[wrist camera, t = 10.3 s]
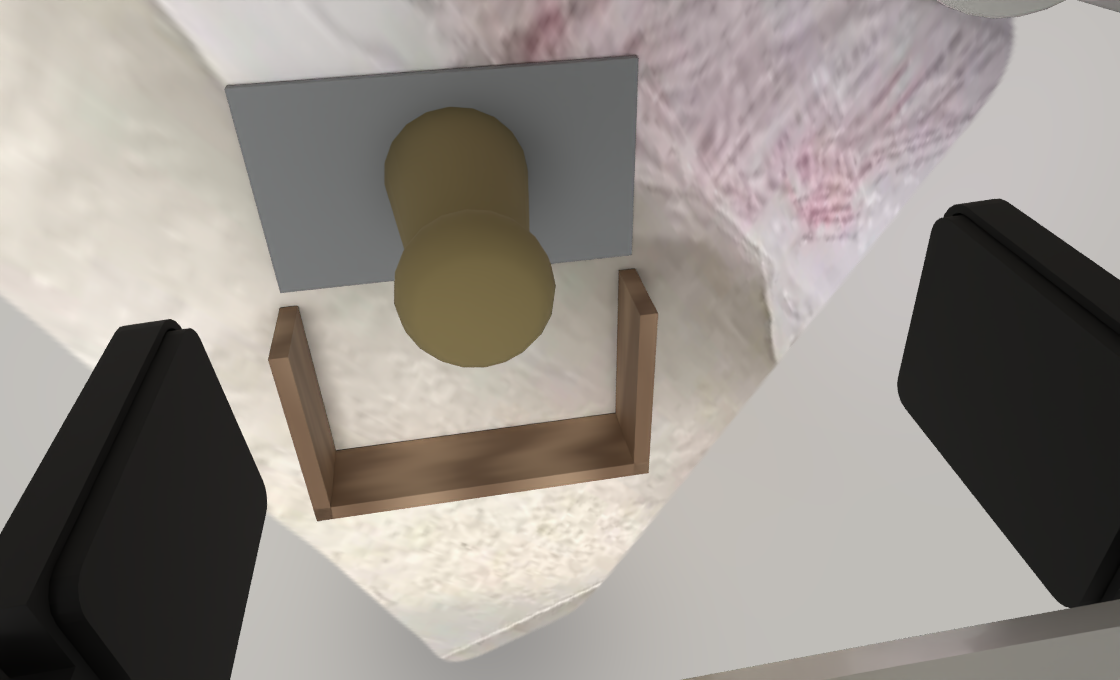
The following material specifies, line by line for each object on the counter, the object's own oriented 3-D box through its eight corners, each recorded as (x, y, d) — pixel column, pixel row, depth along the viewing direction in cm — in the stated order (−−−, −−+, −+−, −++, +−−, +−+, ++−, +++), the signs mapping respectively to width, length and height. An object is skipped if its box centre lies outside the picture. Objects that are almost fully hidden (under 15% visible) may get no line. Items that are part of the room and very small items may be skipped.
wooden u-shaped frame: (634, 268, 37) (657, 313, 34) (629, 422, 43) (648, 472, 40) (279, 307, 35) (267, 359, 32) (323, 464, 41) (317, 521, 37)
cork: (428, 77, 30) (442, 194, 21) (555, 153, 33) (614, 285, 24) (358, 201, 32) (343, 354, 23) (481, 263, 35) (510, 420, 26)
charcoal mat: (636, 55, 31) (638, 58, 31) (629, 250, 36) (631, 255, 36) (226, 85, 29) (224, 88, 29) (281, 288, 34) (280, 293, 34)
